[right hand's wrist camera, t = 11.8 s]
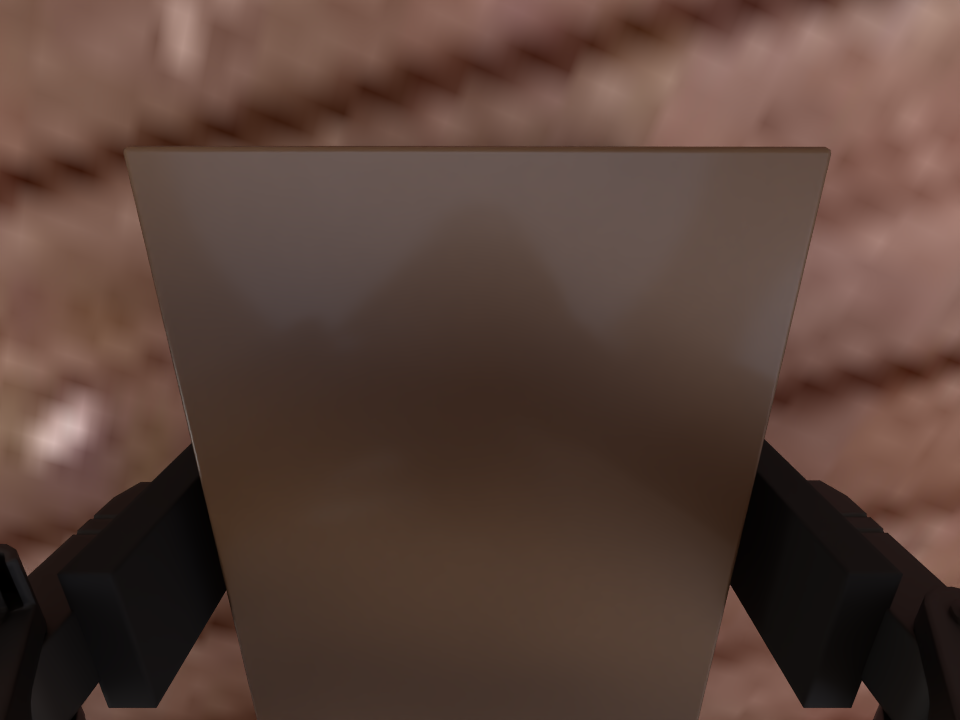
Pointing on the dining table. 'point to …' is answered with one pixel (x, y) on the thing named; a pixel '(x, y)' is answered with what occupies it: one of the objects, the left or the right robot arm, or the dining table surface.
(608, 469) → the thick board
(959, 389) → the dining table surface
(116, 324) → the dining table surface
